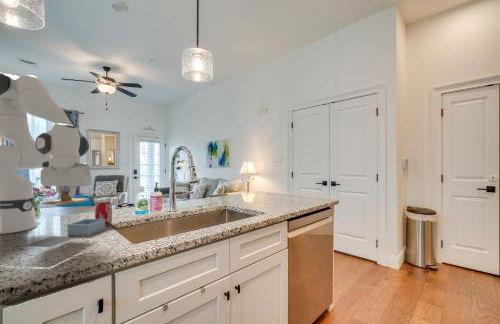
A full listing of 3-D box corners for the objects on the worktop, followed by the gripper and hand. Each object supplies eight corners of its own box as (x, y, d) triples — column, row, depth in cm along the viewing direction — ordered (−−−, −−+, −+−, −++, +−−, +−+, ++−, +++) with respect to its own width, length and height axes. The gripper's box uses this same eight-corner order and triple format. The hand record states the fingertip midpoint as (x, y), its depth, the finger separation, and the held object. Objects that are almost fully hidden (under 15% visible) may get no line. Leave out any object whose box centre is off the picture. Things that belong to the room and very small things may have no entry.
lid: (42, 204, 90) (42, 191, 90) (66, 199, 100) (66, 188, 100) (66, 204, 88) (66, 192, 88) (88, 200, 99) (88, 189, 99)
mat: (24, 247, 85) (24, 245, 85) (52, 237, 96) (52, 236, 96) (51, 248, 84) (51, 246, 84) (76, 238, 95) (76, 236, 95)
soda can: (103, 227, 110) (103, 202, 110) (91, 226, 112) (91, 202, 112) (115, 223, 117) (115, 200, 117) (103, 223, 119) (103, 199, 119)
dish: (67, 236, 97) (67, 224, 97) (85, 229, 107) (85, 218, 107) (88, 236, 96) (88, 224, 96) (105, 230, 106) (105, 219, 106)
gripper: (95, 163, 96) (95, 196, 96) (52, 163, 99) (52, 195, 99) (82, 163, 90) (83, 198, 90) (36, 163, 92) (36, 197, 92)
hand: (66, 197), depth 94 cm, fingers closed on lid, 2 cm apart
